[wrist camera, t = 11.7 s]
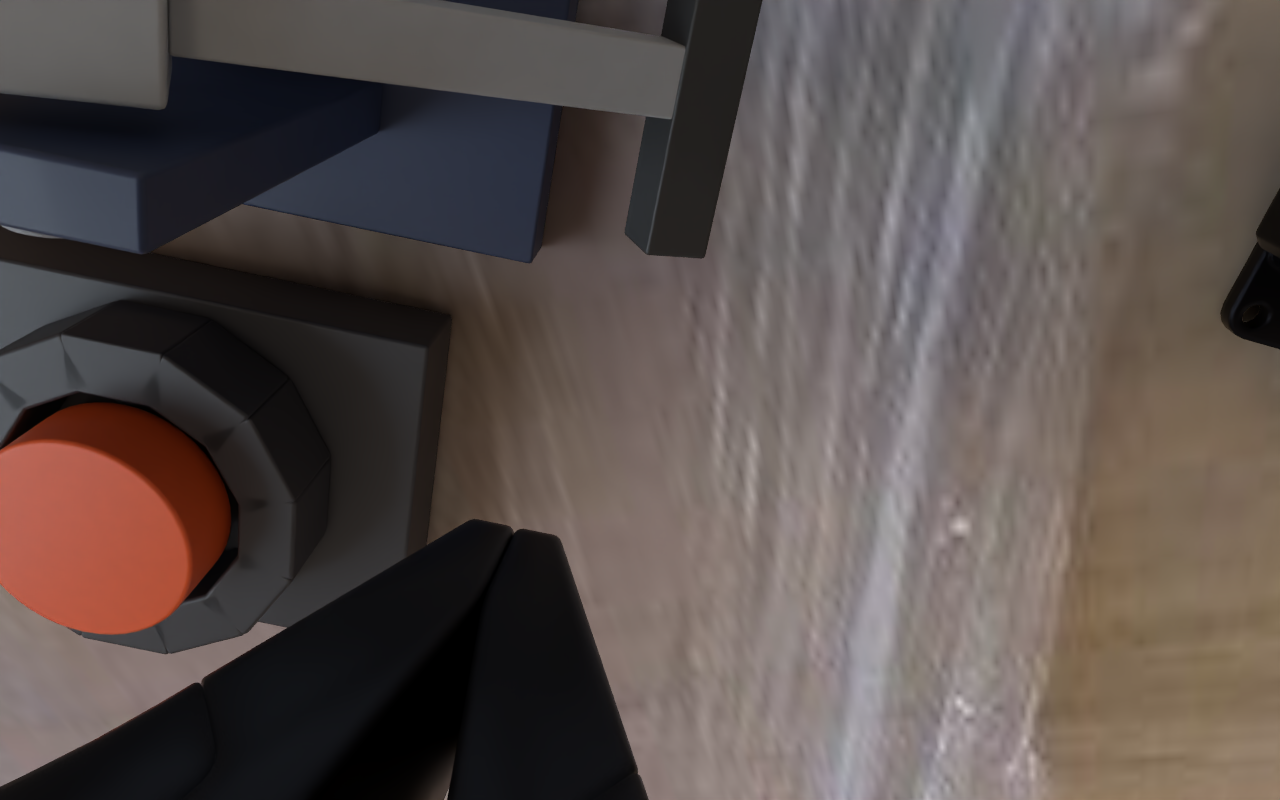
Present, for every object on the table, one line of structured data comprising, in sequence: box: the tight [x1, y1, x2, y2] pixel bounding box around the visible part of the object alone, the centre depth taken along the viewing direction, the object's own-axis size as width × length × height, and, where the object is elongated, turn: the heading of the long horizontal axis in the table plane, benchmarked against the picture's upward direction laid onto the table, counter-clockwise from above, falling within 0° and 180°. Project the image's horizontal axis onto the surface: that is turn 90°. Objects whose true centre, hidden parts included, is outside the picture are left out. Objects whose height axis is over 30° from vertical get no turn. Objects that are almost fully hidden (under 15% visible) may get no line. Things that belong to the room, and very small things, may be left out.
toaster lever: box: [0, 0, 762, 258], centre depth 14 cm, size 11×6×2 cm, turn 79°
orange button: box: [0, 402, 231, 635], centre depth 20 cm, size 4×4×2 cm
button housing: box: [0, 225, 452, 654], centre depth 22 cm, size 11×8×4 cm
